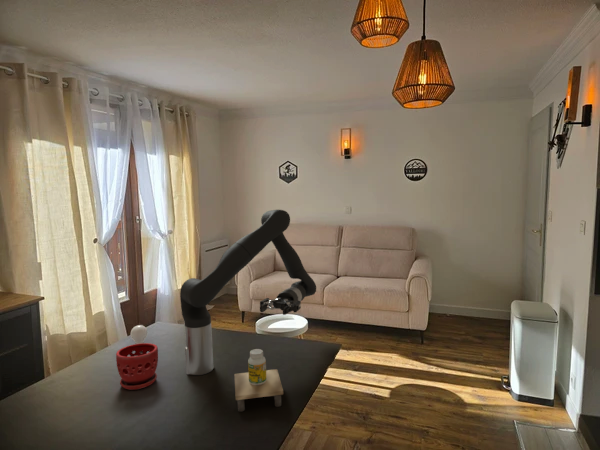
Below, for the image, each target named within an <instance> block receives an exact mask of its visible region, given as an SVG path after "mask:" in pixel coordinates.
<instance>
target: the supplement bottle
mask: <svg viewBox="0 0 600 450" xmlns="http://www.w3.org/2000/svg"><path fill="white" fill-rule="evenodd" d="M266 361H267V360H266V357H265V356H264V351H263V349H260V348H255V349H251V350H250V351H249V358H248V360H247V366H248V368H247V369H248V371H247V373H248V372H249V383H250V384H252V385H262V384H264V383H265V382H266V370H267V362H266Z"/></svg>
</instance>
